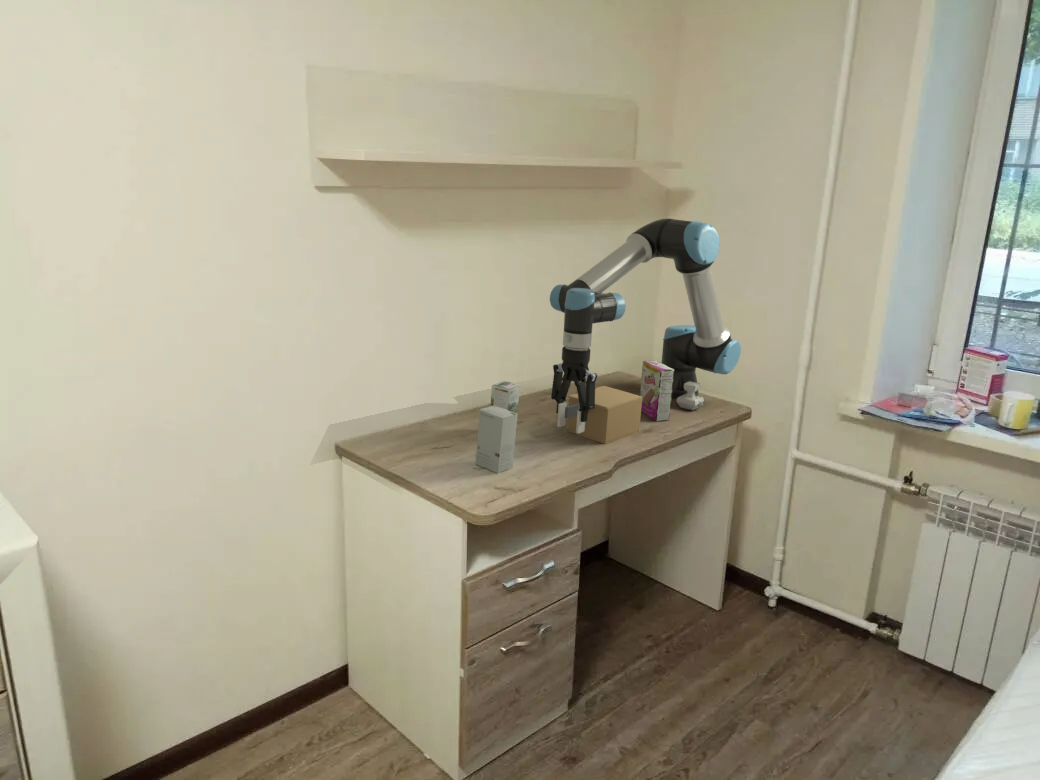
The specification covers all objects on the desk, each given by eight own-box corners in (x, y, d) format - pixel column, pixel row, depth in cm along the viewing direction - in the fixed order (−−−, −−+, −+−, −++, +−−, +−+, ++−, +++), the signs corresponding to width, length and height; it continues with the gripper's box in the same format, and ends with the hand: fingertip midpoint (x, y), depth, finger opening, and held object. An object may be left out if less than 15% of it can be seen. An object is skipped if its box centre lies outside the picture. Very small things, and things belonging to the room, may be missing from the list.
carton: (601, 419, 240) (603, 387, 237) (639, 431, 230) (642, 399, 228) (566, 430, 228) (569, 397, 225) (605, 444, 219) (608, 409, 216)
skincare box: (474, 464, 200) (476, 408, 196) (491, 458, 205) (493, 404, 200) (499, 474, 195) (501, 417, 191) (515, 468, 199) (518, 412, 195)
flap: (603, 395, 237) (604, 385, 236) (641, 406, 228) (642, 396, 227) (546, 411, 219) (547, 401, 219) (585, 424, 210) (586, 414, 210)
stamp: (672, 407, 255) (674, 382, 252) (681, 403, 260) (683, 378, 258) (698, 413, 250) (701, 388, 247) (706, 409, 255) (709, 384, 253)
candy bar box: (637, 410, 250) (642, 360, 245) (651, 409, 251) (656, 359, 247) (655, 422, 240) (661, 369, 235) (669, 420, 242) (675, 369, 237)
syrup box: (499, 428, 227) (501, 379, 223) (517, 432, 225) (519, 383, 220) (488, 433, 223) (490, 384, 218) (506, 438, 220) (509, 388, 216)
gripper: (540, 342, 215) (535, 422, 221) (595, 356, 202) (589, 441, 209) (558, 338, 220) (553, 417, 227) (613, 352, 207) (606, 435, 214)
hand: (570, 428), depth 218 cm, fingers open, 6 cm apart
